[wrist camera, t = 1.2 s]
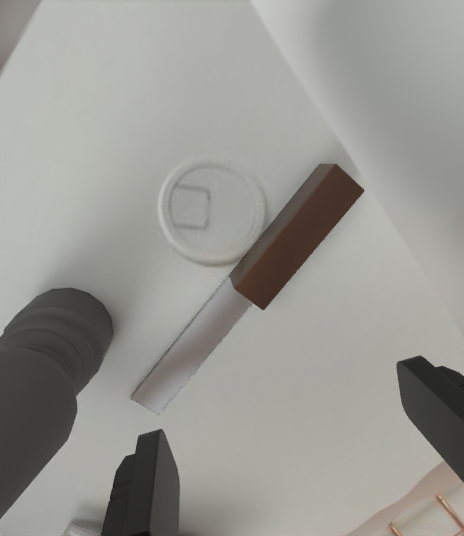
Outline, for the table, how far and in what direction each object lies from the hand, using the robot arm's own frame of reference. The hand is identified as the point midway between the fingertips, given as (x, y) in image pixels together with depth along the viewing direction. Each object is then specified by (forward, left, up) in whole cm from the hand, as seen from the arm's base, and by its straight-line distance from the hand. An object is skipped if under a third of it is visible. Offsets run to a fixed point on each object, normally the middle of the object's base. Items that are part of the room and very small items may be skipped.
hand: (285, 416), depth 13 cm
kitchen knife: (+1, 0, -16) cm, 16 cm away
